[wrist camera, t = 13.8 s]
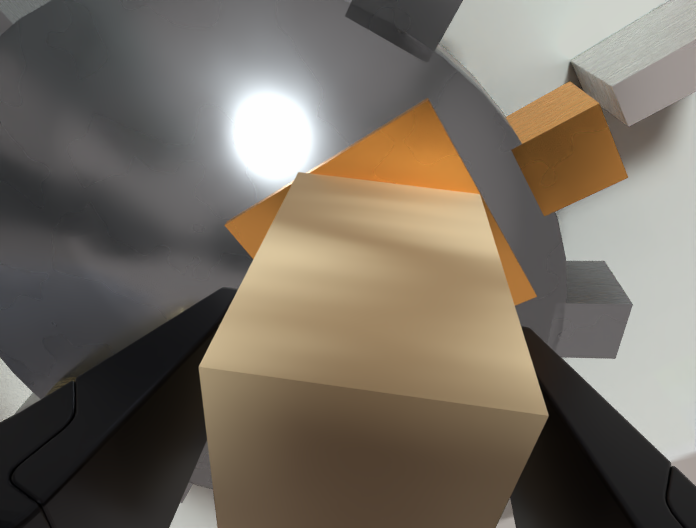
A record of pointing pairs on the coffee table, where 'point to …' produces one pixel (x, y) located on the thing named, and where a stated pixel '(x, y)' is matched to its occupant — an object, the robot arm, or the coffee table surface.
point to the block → (370, 367)
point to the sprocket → (258, 162)
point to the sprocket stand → (643, 63)
